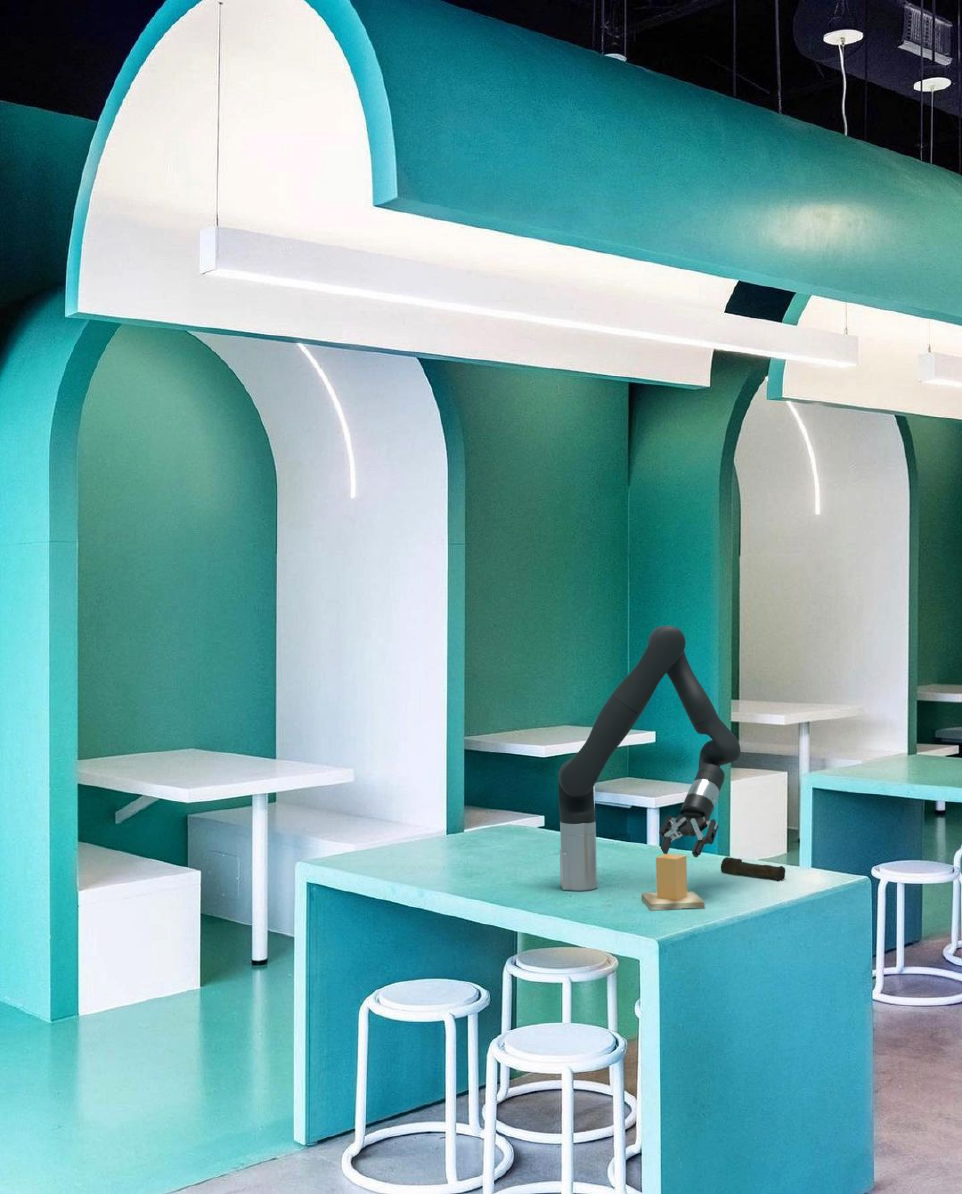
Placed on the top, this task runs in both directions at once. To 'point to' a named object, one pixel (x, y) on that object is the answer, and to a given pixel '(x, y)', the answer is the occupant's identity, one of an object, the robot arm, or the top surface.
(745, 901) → the top surface
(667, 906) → the post board
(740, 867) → the hand tool
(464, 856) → the top surface
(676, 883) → the tall orange pillar
